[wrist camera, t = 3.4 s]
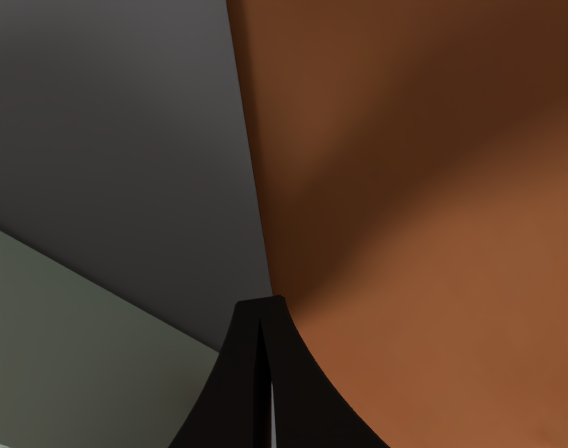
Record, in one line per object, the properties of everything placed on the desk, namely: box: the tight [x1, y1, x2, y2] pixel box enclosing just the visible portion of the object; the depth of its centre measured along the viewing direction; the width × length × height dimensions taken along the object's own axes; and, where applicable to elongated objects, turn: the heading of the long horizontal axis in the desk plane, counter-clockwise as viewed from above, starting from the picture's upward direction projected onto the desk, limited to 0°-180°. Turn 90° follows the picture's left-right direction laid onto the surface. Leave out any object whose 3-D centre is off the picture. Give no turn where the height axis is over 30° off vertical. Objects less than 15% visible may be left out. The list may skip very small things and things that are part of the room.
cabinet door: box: [0, 231, 219, 448], centre depth 11 cm, size 12×2×5 cm, turn 46°
